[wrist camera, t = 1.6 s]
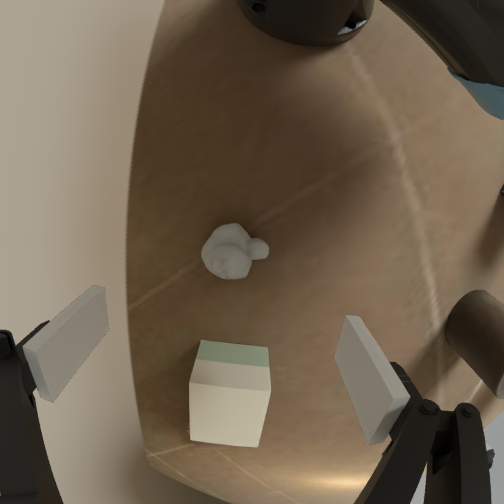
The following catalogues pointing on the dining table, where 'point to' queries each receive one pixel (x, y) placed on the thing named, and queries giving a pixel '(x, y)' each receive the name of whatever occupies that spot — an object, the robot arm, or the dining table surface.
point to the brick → (207, 445)
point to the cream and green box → (229, 393)
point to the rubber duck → (232, 251)
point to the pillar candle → (480, 337)
